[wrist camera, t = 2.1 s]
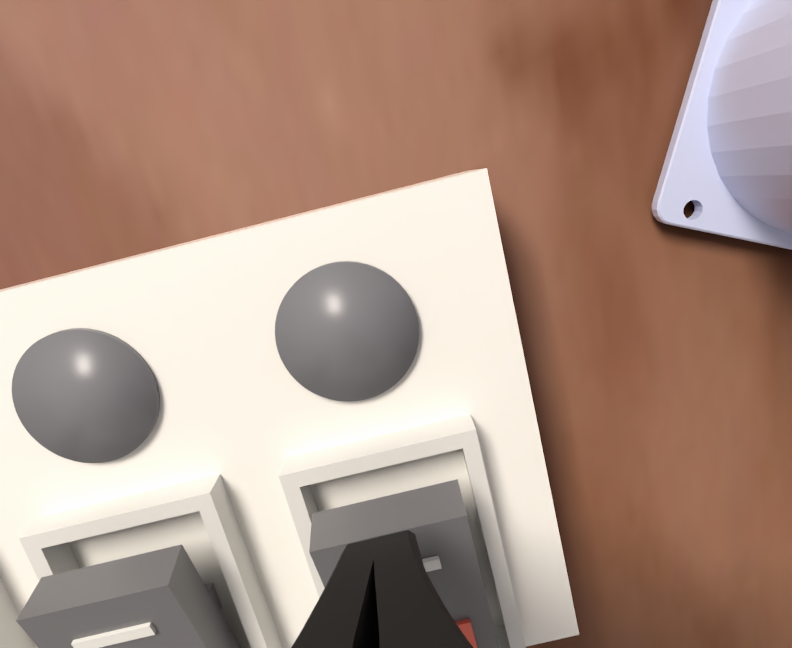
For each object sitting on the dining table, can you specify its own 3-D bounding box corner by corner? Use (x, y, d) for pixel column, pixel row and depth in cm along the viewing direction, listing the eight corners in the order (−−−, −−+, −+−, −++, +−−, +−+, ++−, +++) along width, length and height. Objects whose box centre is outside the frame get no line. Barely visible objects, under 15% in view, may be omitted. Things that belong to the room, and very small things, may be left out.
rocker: (457, 479, 13) (468, 519, 12) (492, 624, 15) (503, 669, 14) (312, 513, 13) (309, 556, 12) (369, 652, 15) (370, 698, 14)
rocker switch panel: (466, 170, 15) (494, 167, 12) (548, 564, 19) (591, 661, 15) (-243, 351, 16) (-433, 403, 12) (-48, 700, 19) (-152, 826, 16)
